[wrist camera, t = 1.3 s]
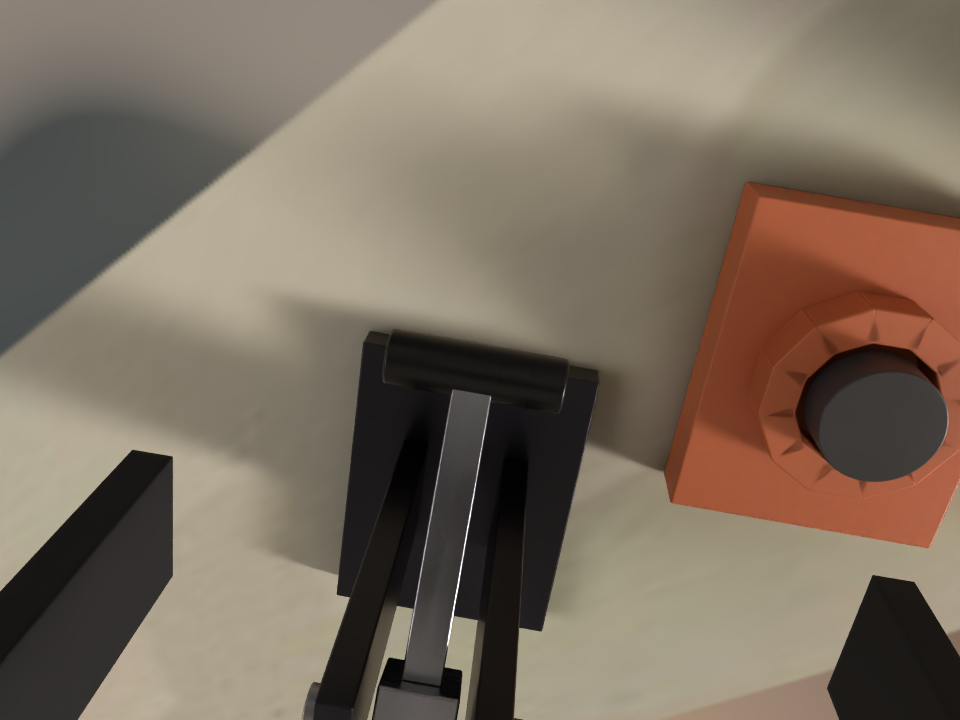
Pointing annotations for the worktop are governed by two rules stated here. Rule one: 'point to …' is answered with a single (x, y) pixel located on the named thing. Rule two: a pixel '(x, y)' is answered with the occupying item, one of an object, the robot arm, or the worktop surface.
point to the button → (875, 416)
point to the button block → (818, 361)
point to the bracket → (490, 541)
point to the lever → (453, 496)
